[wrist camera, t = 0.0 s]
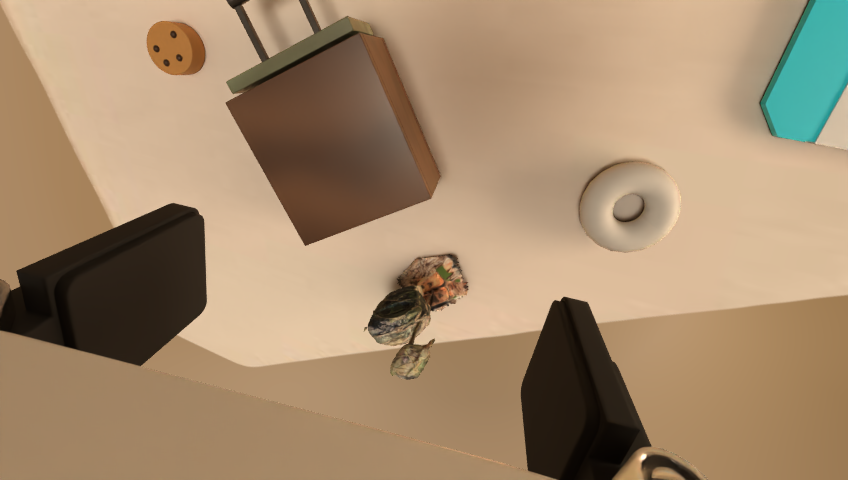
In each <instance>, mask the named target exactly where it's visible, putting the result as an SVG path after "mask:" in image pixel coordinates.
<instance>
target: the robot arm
mask: <svg viewBox="0 0 848 480" xmlns="http://www.w3.org/2000/svg"><path fill="white" fill-rule="evenodd" d="M17 275H18V279H19V283H20V287H18V288H16V289H14V290H12V291H11V290H10V286H9V284H8V283H7V282H5V281H4V280H1V279H0V480H708V479H707V478H706V477H705V476H704V475H703V474H702V473H701V472H700V471H699V470H698V469H696V468H695V467H694V466H693V465H692V464H690V463H689V462H687V461H686V460H684V459H683V458H681V457H679V456H678V455H676V454H674V453H672V452H669V451H667V450H664V449H661V448H656V447H652V446H651V444H650V442H649V439H648V437H647V435H646V433H645V430H644V428H643V425H642V423H641V421H640V418H639V416H638V413H637V411H636V409H635V406H634V404H633V402H632V399H631V397H630V395H629V392H628V390H627V388H626V385H625V383H624V380H623V378H622V376H621V373H620V371H619V369H618V367H617V365H616V364H615V362H613V361H612V360H611V357H610V355H609V353H608V350H607V348H606V345H605V343H604V341H603V338H602V336H601V333H600V331H599V328H598V326H597V324H596V321H595V319H594V316H593V314H592V311H591V309H590V307H589V304H588V303H587V302H584V301H580V300H576V299H572V298H568V297H563V298H562V299H561V301H556V300H555V301H553V303H552V305H551V308H550V310H549V313H548V316H547V318H546V321H545V323H544V326H543V329H542V331H541V334H540V337H539V339H538V342H537V345H536V347H535V350H534V353H533V356H532V358H531V361H530V363H529V366H528V369H527V371H526V374H525V377H524V379H523V382H522V387H521V402H522V412H523V423H524V434H525V444H526V455H527V466H528V471H527V470H524V469H520V468H517V467H513V466H511V465H507V464H504V463H501V462H497V461H494V460H490V459H487V458H483V457H479V456H476V455H472V454H468V453H465V452H461V451H457V450H454V449H450V448H446V447H442V446H439V445H435V444H431V443H428V442H424V441H420V440H416V439H413V438H409V437H405V436H402V435H398V434H394V433H391V432H387V431H383V430H379V429H376V428H372V427H368V426H364V425H361V424H357V423H353V422H349V421H346V420H342V419H338V418H334V417H330V416H327V415H323V414H319V413H315V412H312V411H308V410H304V409H300V408H296V407H293V406H289V405H285V404H281V403H277V402H274V401H269V400H266V399H262V398H258V397H255V396H251V395H247V394H243V393H239V392H236V391H232V390H228V389H224V388H221V387H217V386H213V385H209V384H206V383H202V382H198V381H194V380H190V379H186V378H183V377H179V376H175V375H172V374H168V373H164V372H160V371H156V370H152V369H149V368H145V367H141V365H142V364H143V363H145V362H146V361H147V360H148V359H149V358H151V357H152V356H153V355H154V354H155V353H156V352H157V351H159V350H160V349H161V348H162V347H163V346H164V345H166V344H167V343H168V342H169V341H170V340H171V339H172V338H174V337H175V336H176V335H177V334H178V333H179V332H181V331H182V330H183V329H184V328H185V327H186V326H188V325H189V324H190V323H191V322H192V321H193V320H194V319H196V318H197V317H198V316H199V315H200V314H201V313H202V312H203V310H204V309H205V306H206V302H207V294H206V263H205V231H204V219H203V217H202V216H201V215H199V212H198V210H197V209H195V208H192V207H187V206H183V205H179V204H175V203H171V204H168V205H166V206H164V207H161V208H159V209H157V210H155V211H152V212H150V213H148V214H145V215H143V216H141V217H139V218H136V219H134V220H132V221H129V222H127V223H125V224H122V225H120V226H118V227H116V228H113V229H111V230H109V231H107V232H104V233H102V234H100V235H97V236H95V237H93V238H90V239H89V240H86V241H84V242H81V243H79V244H77V245H74V246H72V247H70V248H68V249H65V250H63V251H61V252H58V253H56V254H54V255H51V256H49V257H47V258H45V259H42V260H40V261H38V262H36V263H33V264H31V265H29V266H26V267H24V268H22V269H19V270H17Z"/></svg>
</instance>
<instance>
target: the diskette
mask: <svg viewBox="0 0 848 480" xmlns="http://www.w3.org/2000/svg"><path fill="white" fill-rule="evenodd" d="M760 104H761V107H762V109H763V112H764V115H765V117H766V120H767V123H768V125H769V128H770V130H771V133H772V136H776V137H781V138H786V139H792V140H797V141H802V142H805V141H808V142H809V143H813V144H818V145H823V146H829V147H834V148H839V149H844V150H848V0H810V1H809V3H808V5H807V7H806V10H805V12H804V14H803V16H802V18H801V20H800V22H799V24H798V26H797V28H796V30H795V32H794V34H793V36H792V39H791V41H790V43H789V45H788V47H787V49H786V51H785V53H784V55H783V57H782V59H781V61H780V63H779V65H778V68H777V70H776V72H775V74H774V76H773V78H772V80H771V82H770V84H769V86H768V88H767V90H766V92H765V95H764V97H763V99H762V101H761V103H760Z"/></svg>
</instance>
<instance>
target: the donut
mask: <svg viewBox="0 0 848 480" xmlns="http://www.w3.org/2000/svg"><path fill="white" fill-rule="evenodd" d="M629 194H637V195H639V196H641V197H642V198H643V200H644V203H645V207H644V210H643V212H642V214H641V215H640V216H639V217H638V218H637V219H635V220H633V221H630V222H620V221H618V220H617V219H615V218H614V216H613V207H614V205H615V203H616V202H617V201H618V200H619V199H620V198H621V197H623V196H625V195H629ZM579 210H580V219H581V224H582V226H583V228H584V230H585V232H586V234H587V235H588V236H589V237H590V238H591V239H592V240H593V241H594V242H595V243H596V244H597V245H599V246H601V247H604V248H606V249H608V250H610V251H617V252H625V253H626V252H633V251H639V250H643V249H645V248H648V247H650V246H653V245H655V244H656V243H658V242H659V241H660V240H661V239H663V238H664V237H665V236H667V235H668V233H669V232H670V231H671V229H672V228H673V226H674V225H675V224H676V222H677V219H678V216H679V213H680V210H681V194H680V192H679V189H678V187H677V185H676V182H675V181H674V179H673V178H672V177H671V176H670V175H669V174H668V173H667V172H666V171H665V170H663V169H661V168H659V167H657V166H655V165H652V164H650V163H642V162H627V163H622V164H617V165H614V166H612V167H610V168H608V169H606V170H604V171H602V172H601V173H600V174H599V175H598V176H597V177H596V178H594V179H593V180H592V181H591V182H590V184H589V185H588V187H587V188H586V190H585V192H584V193H583V195H582V199H581V204H580V208H579Z"/></svg>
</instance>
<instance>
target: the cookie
mask: <svg viewBox="0 0 848 480" xmlns="http://www.w3.org/2000/svg"><path fill="white" fill-rule="evenodd" d="M147 48H148V52H149V54H150V57H151V59H152V60H153V62H154V63H155V64H156V65H157V66H158V67H159V68H160V69H161V70H162V71H164V72H166V73H168V74H172V75H189V74H194V73H196V72H198V71H199V70H200V69H201V67H202V66H203V63H204V60H205V49H204V45H203V42H202V40H201V38H200V37H199V35H198V34H197V33H196V32H195V31H194V30H193V29H192V28H191V27H189V26H187V25H185V24H182V23H175V22H168V21H161V22H158V23H156V24H154V25H153V26H152V27H151V28H150V30H149V32H148V35H147Z"/></svg>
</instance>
